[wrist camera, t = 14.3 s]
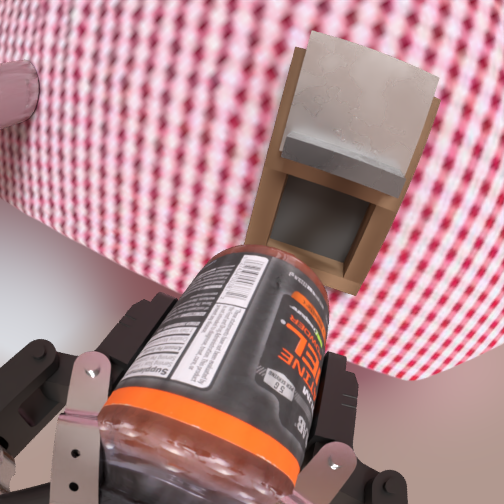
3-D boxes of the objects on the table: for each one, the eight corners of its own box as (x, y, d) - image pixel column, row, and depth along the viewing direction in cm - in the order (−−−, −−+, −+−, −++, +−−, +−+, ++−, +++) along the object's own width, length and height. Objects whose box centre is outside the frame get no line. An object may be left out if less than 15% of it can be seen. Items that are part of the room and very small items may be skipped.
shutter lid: (280, 148, 25) (273, 157, 22) (312, 32, 19) (309, 25, 17) (396, 189, 24) (403, 203, 21) (436, 77, 18) (449, 78, 16)
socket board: (248, 242, 34) (240, 257, 32) (299, 50, 23) (295, 46, 21) (355, 278, 33) (355, 295, 30) (430, 97, 22) (440, 100, 19)
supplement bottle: (348, 333, 14) (299, 594, 4) (237, 351, 16) (147, 549, 7) (300, 217, 12) (155, 574, 2) (178, 258, 14) (13, 472, 5)
